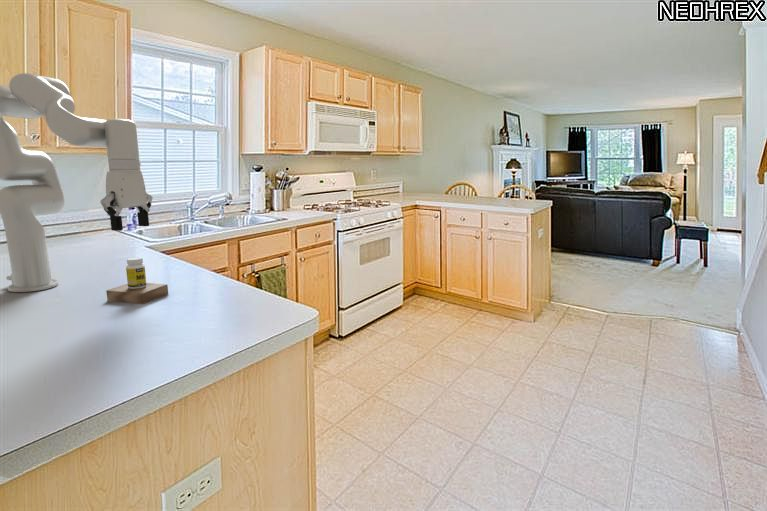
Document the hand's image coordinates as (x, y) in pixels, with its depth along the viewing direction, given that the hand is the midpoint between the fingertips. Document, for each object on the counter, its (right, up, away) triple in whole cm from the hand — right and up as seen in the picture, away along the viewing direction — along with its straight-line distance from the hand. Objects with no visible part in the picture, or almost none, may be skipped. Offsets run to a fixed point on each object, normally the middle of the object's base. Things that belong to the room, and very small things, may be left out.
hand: (131, 228), depth 129 cm
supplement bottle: (0, -17, +3) cm, 17 cm away
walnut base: (0, -20, +4) cm, 20 cm away
